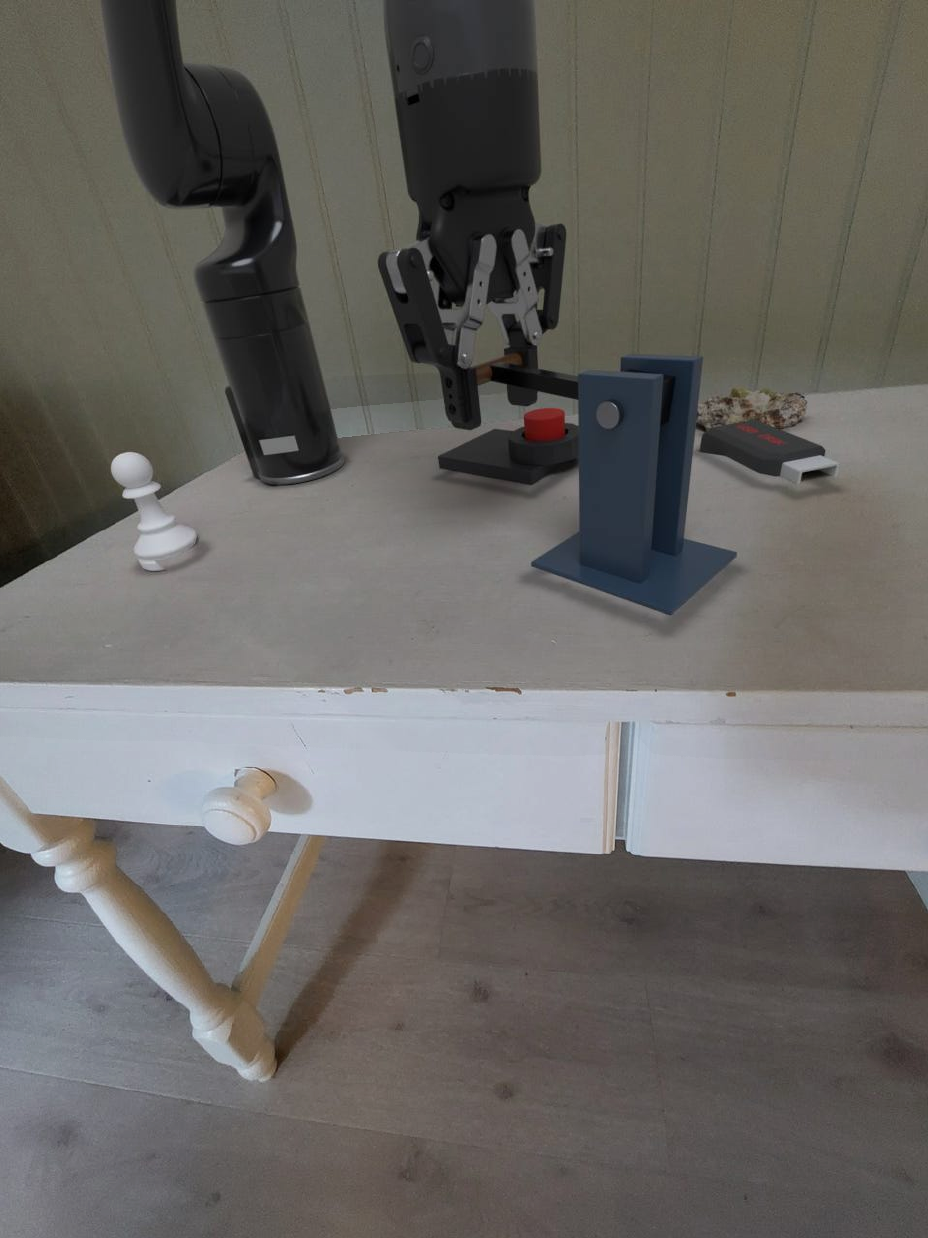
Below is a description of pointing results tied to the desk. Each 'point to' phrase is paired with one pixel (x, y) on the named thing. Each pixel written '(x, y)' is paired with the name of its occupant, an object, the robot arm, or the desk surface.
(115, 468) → the chess pawn
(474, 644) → the desk surface
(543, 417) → the red button
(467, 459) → the box
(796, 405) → the mineral rock
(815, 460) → the usb drive
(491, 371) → the switch lever
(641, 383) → the stand
